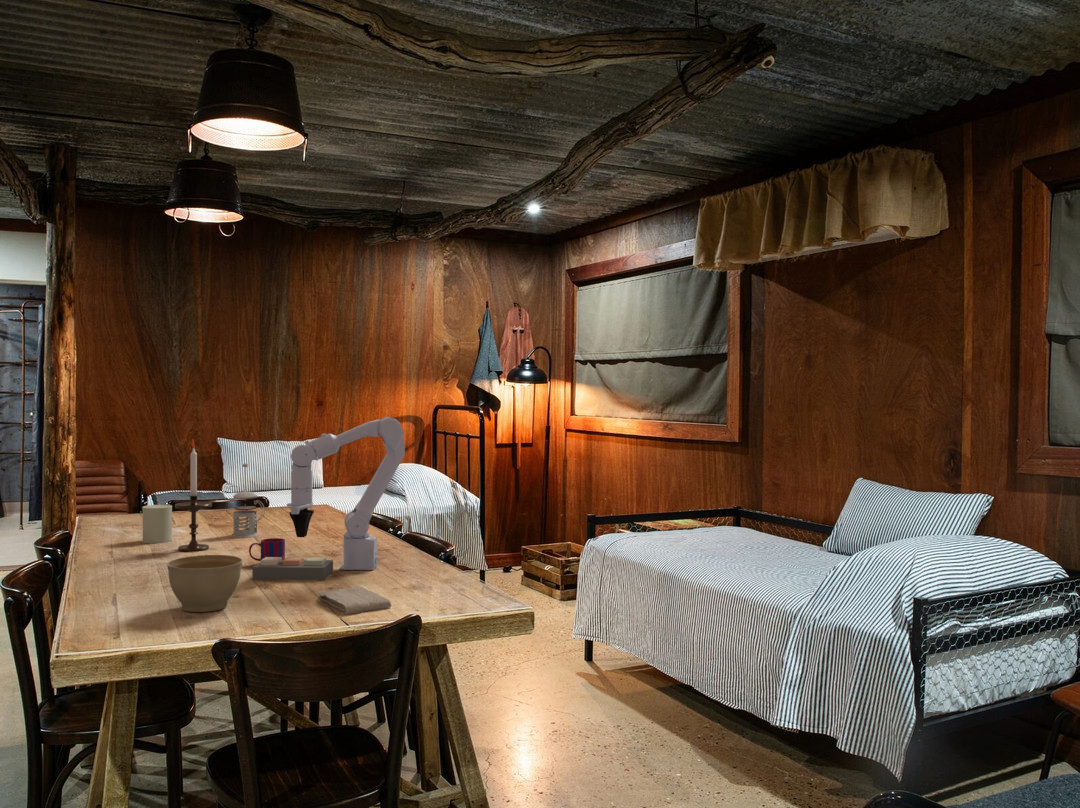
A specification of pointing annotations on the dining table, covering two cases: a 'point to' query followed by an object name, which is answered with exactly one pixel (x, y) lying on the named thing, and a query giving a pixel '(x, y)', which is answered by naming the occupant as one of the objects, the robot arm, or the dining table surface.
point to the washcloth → (353, 600)
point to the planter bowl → (204, 581)
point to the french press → (245, 515)
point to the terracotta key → (293, 561)
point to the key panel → (292, 572)
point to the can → (157, 523)
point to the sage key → (315, 561)
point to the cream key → (271, 561)
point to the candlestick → (193, 508)
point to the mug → (270, 548)
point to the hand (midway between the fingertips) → (301, 536)
